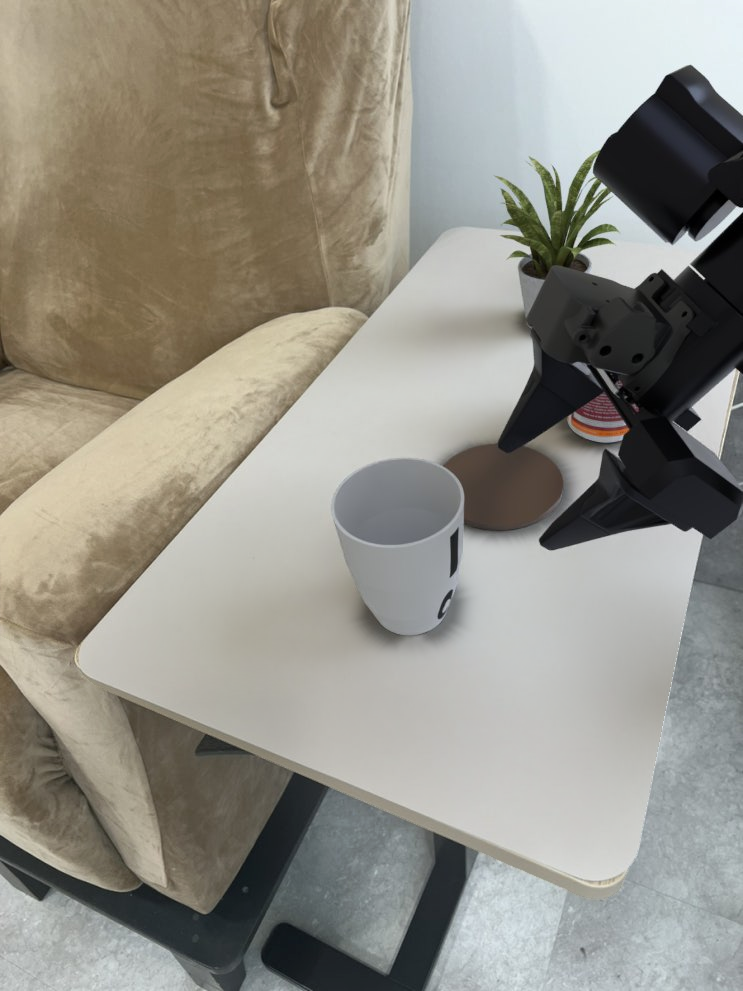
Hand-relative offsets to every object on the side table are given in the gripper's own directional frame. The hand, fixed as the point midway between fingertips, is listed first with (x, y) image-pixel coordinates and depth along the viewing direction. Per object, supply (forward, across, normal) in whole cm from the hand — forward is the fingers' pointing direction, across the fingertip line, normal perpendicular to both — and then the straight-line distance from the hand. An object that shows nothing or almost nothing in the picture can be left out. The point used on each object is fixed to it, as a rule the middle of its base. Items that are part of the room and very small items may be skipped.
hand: (521, 494), depth 48 cm
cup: (+12, 0, +1) cm, 12 cm away
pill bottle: (-2, -16, +15) cm, 22 cm away
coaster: (+5, -10, +7) cm, 14 cm away
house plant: (-4, -34, +17) cm, 38 cm away
